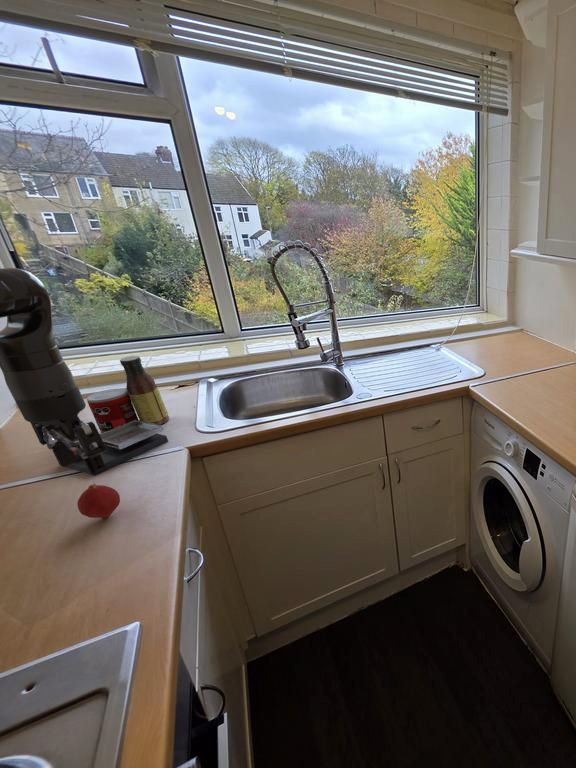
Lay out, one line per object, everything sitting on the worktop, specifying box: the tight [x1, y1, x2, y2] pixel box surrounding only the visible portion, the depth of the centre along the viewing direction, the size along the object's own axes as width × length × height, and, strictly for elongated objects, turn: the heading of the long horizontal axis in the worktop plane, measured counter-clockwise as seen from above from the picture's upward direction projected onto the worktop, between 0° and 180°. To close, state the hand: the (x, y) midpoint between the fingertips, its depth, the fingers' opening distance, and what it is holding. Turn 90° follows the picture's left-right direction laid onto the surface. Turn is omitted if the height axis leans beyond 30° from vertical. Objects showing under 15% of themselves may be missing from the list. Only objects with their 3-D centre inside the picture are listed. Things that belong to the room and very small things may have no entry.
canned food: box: [86, 388, 139, 434], centre depth 109 cm, size 8×8×11 cm
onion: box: [77, 483, 121, 519], centre depth 79 cm, size 6×6×8 cm
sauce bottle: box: [119, 355, 170, 425], centre depth 112 cm, size 7×6×20 cm
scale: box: [62, 433, 169, 477], centre depth 100 cm, size 16×12×4 cm
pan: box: [95, 419, 165, 450], centre depth 102 cm, size 10×10×1 cm
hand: (83, 468), depth 76 cm, fingers open, 8 cm apart
